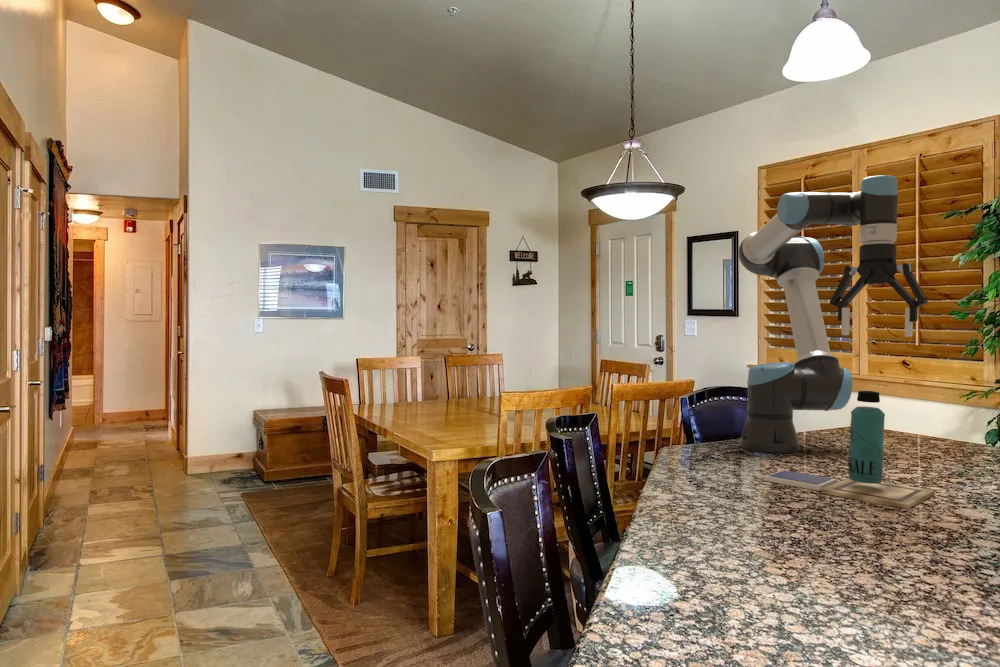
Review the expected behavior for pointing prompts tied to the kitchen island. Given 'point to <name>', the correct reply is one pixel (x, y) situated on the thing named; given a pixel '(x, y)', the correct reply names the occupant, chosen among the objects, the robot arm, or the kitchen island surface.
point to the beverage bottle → (866, 441)
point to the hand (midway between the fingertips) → (876, 336)
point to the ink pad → (800, 480)
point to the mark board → (879, 493)
